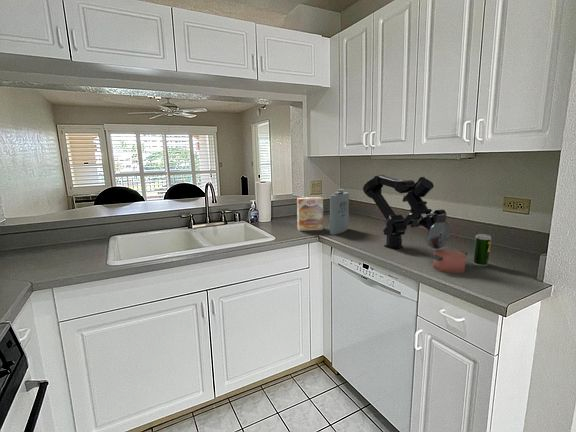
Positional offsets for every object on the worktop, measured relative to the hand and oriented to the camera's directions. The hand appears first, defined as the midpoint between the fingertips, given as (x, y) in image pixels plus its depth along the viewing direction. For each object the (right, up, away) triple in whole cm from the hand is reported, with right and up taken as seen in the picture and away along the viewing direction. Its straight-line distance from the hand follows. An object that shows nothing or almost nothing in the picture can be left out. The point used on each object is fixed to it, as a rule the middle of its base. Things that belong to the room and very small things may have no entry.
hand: (435, 234), depth 127 cm
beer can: (+18, -12, -1) cm, 22 cm away
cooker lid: (+1, +1, -2) cm, 3 cm away
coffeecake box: (-47, -1, +64) cm, 79 cm away
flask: (-29, -2, +57) cm, 64 cm away
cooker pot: (+3, -13, -5) cm, 14 cm away
